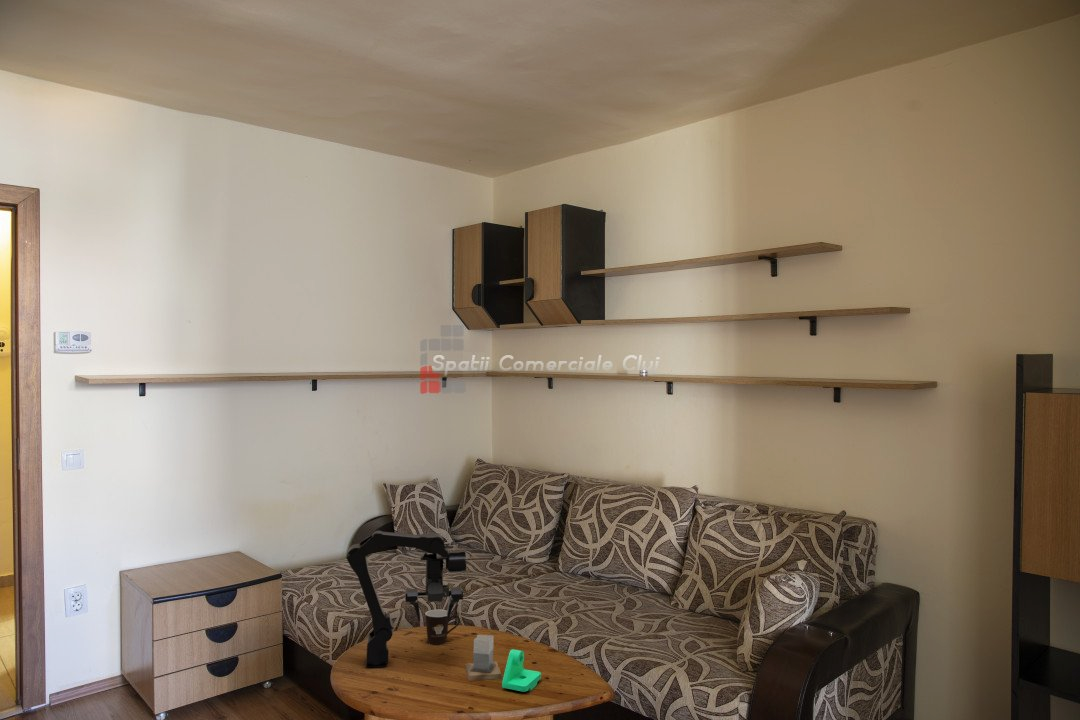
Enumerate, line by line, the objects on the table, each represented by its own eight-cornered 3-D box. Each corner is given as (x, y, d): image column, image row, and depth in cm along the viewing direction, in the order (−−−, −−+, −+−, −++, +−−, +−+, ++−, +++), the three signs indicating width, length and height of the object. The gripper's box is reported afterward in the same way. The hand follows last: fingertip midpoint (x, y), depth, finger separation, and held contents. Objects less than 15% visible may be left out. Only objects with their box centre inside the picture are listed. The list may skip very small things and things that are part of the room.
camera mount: (525, 695, 214) (525, 660, 214) (502, 691, 217) (502, 656, 218) (541, 681, 225) (542, 647, 225) (519, 676, 228) (520, 643, 228)
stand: (469, 680, 224) (469, 675, 224) (465, 668, 234) (465, 663, 234) (501, 678, 226) (501, 673, 226) (496, 666, 236) (496, 661, 236)
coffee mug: (421, 645, 254) (421, 616, 254) (429, 636, 262) (429, 608, 262) (453, 647, 252) (454, 618, 252) (460, 639, 260) (460, 610, 260)
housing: (470, 671, 227) (470, 640, 228) (475, 663, 234) (476, 633, 234) (490, 673, 226) (491, 642, 226) (495, 665, 232) (496, 635, 233)
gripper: (406, 580, 231) (405, 630, 230) (465, 578, 234) (464, 627, 234) (405, 571, 241) (404, 619, 241) (461, 569, 245) (461, 616, 245)
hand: (433, 620), depth 240 cm, fingers open, 9 cm apart
